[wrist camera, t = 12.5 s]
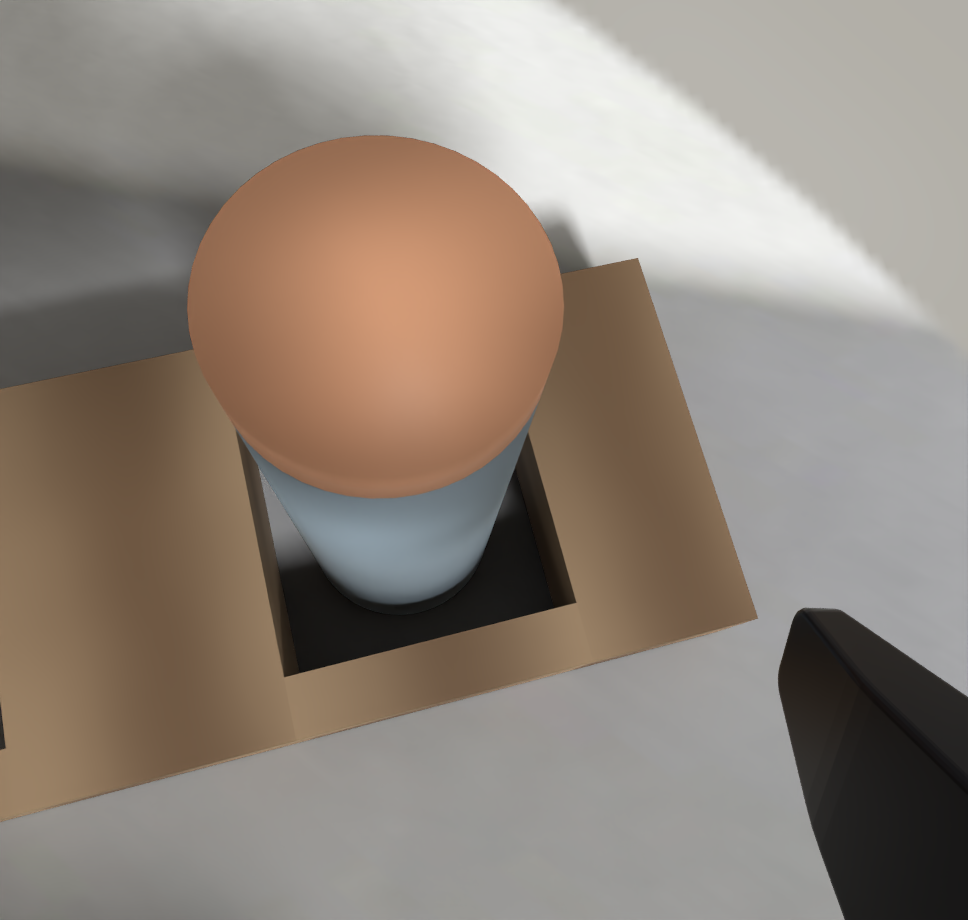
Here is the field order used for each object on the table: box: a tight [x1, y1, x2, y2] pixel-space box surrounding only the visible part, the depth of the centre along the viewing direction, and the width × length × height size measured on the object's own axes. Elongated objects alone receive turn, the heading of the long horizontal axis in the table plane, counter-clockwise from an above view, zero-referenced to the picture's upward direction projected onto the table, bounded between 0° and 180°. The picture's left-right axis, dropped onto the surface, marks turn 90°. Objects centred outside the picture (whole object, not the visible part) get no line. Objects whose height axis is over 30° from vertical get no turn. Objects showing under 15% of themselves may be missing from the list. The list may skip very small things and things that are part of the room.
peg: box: [187, 135, 564, 615], centre depth 17 cm, size 4×4×13 cm
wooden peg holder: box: [0, 258, 758, 822], centre depth 21 cm, size 26×9×3 cm, turn 105°
